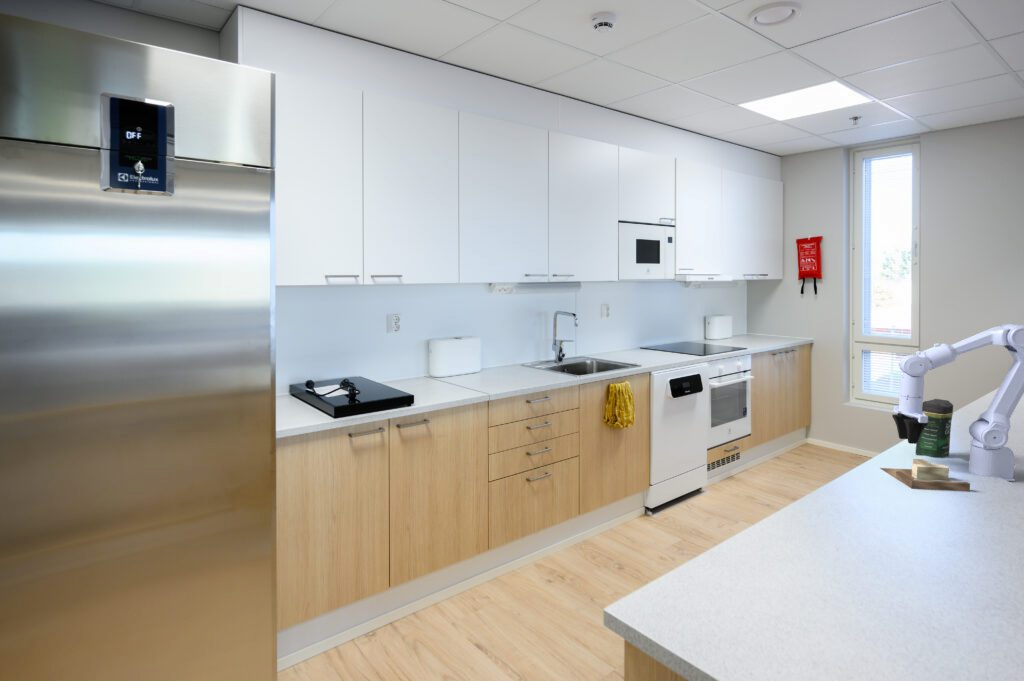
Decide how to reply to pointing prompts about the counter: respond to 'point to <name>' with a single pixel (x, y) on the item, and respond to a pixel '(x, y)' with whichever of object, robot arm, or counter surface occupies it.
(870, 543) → the counter surface
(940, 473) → the t block
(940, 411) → the coffee jar
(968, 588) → the counter surface
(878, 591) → the counter surface
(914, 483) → the board
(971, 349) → the robot arm
